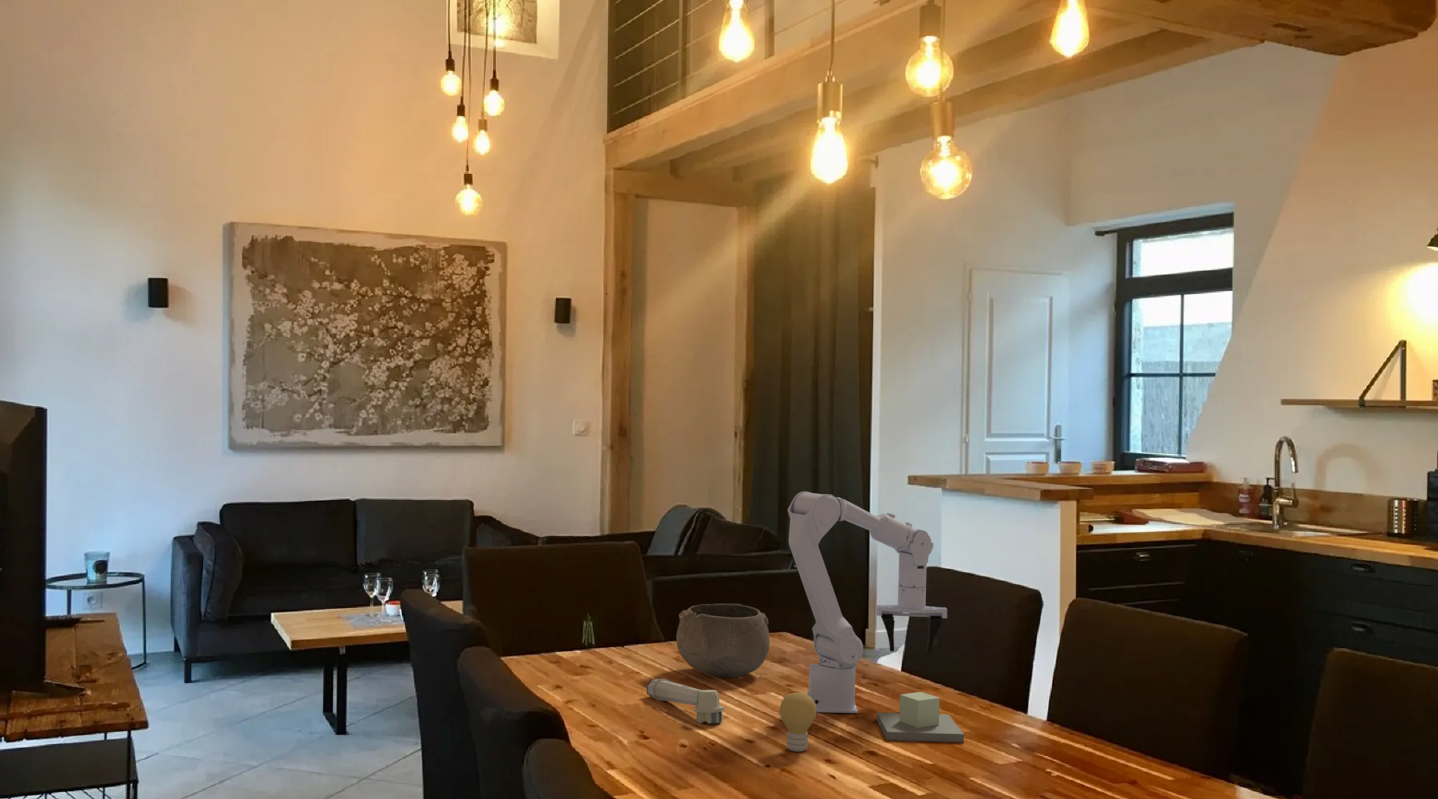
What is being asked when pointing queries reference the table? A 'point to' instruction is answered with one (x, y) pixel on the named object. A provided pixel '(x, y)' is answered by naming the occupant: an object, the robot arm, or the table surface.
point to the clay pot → (723, 639)
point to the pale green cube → (919, 709)
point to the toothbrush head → (688, 698)
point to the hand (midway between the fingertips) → (910, 651)
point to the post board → (919, 729)
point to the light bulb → (797, 719)
